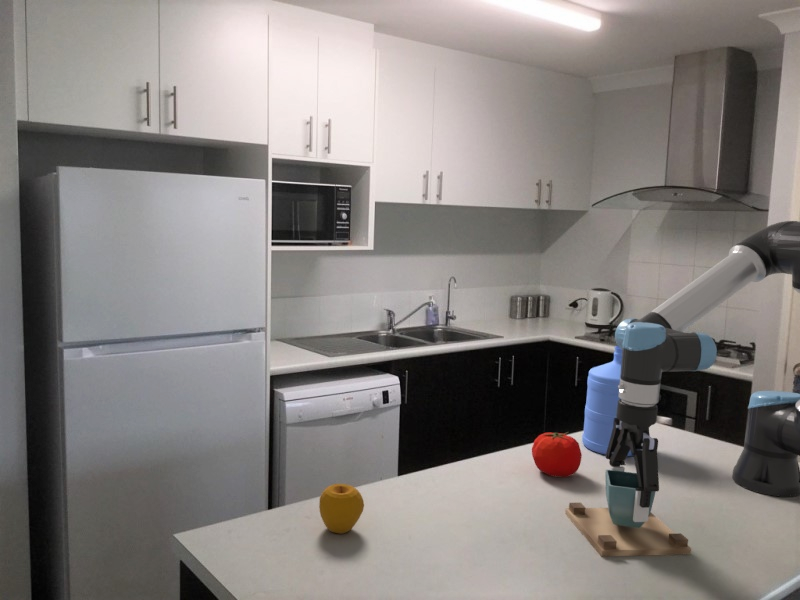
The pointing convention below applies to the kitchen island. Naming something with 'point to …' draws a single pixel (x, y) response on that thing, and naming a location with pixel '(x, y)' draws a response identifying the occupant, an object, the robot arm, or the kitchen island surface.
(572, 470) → the tomato
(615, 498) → the flower pot
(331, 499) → the apple
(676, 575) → the kitchen island surface
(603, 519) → the trivet
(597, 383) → the water jug
